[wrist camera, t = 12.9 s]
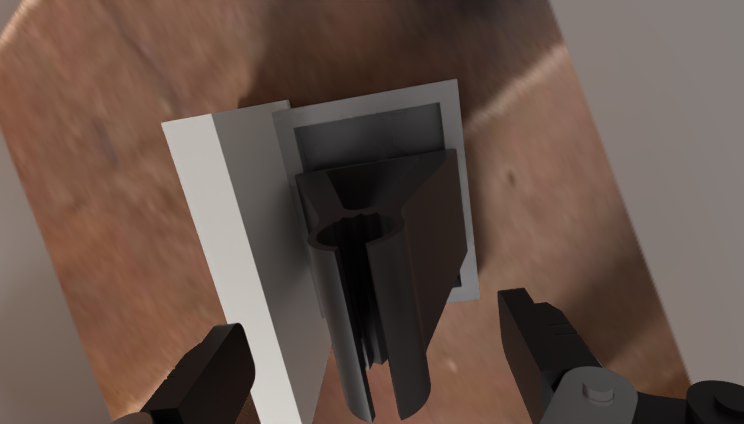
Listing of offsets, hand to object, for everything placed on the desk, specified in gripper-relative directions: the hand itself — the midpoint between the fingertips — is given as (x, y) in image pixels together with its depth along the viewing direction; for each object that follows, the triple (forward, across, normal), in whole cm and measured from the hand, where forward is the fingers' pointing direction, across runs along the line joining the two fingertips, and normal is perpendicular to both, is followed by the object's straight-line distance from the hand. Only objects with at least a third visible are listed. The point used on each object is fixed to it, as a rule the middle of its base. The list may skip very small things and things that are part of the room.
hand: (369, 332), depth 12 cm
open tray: (+13, 0, 0) cm, 13 cm away
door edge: (+13, +6, +1) cm, 15 cm away
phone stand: (+12, 0, 0) cm, 12 cm away
